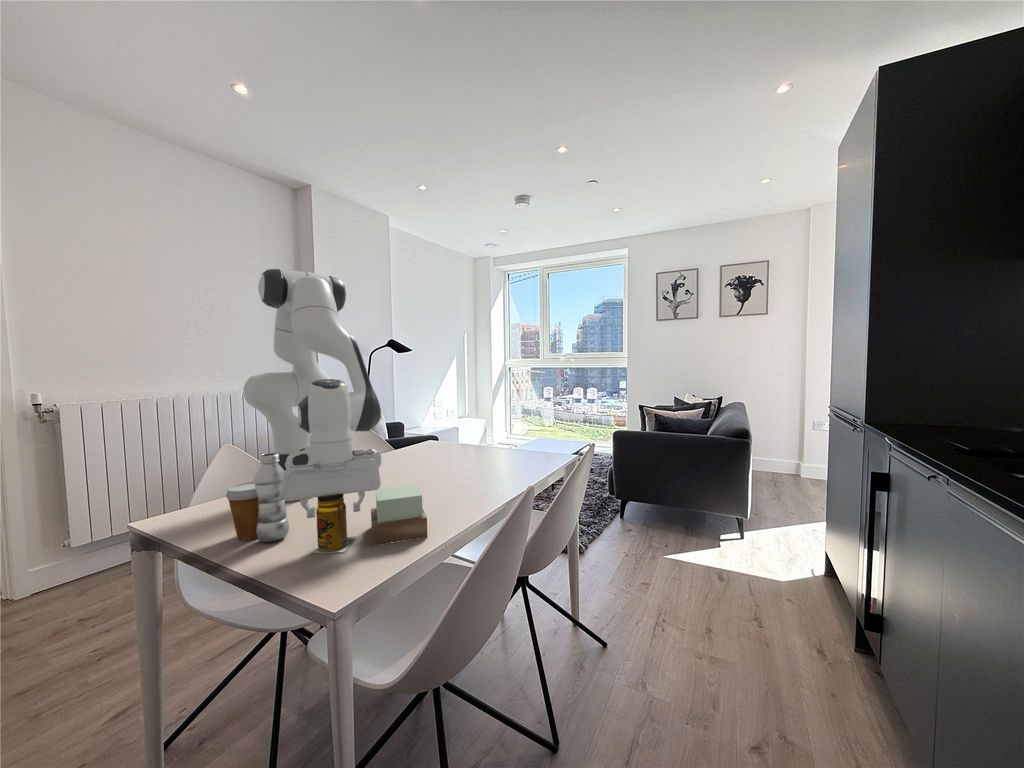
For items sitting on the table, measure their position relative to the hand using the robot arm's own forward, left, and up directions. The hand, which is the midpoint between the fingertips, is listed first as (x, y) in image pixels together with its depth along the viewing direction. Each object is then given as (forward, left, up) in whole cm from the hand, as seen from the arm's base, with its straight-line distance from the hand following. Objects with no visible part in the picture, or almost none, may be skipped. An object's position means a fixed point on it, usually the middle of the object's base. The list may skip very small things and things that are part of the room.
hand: (334, 514), depth 93 cm
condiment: (0, 0, -7) cm, 7 cm away
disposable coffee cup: (-14, -19, -7) cm, 25 cm away
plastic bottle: (-9, -14, -7) cm, 18 cm away
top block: (-2, +14, -2) cm, 14 cm away
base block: (-2, +14, -8) cm, 16 cm away
